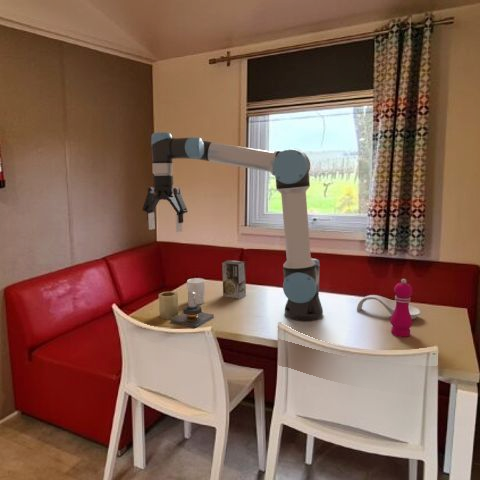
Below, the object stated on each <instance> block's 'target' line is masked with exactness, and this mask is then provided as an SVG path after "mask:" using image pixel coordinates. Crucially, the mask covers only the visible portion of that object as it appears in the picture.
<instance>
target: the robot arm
mask: <svg viewBox="0 0 480 480" xmlns="http://www.w3.org/2000/svg"><path fill="white" fill-rule="evenodd" d="M150 147H151V159H152V174H153V176H152V184H153V186H154V187H153V186H151V187H148V188H147V195H146V197H145V199H144V200H145V201H144V204H143V207H142V211H143V212H145V213H146V219H147V222H148V230H149V231H150V230H155V229H156V224H155V223H156V221H155V219H156V218H155V217H156V216H155V212H154V210H155V208H156V207H157V205H158V203H159V202H160V201H162V200H164V201H168V202H169V204H170V205H171V206H172V208H173V209H174V211H175V213H176V214H175V233H180V232H183V223H184V214H186V213H188V212H189V211H188V208H187V205H186V203H185V202H184V199H183V197H182V194H181V189H180V187H174V188H173V185H174V176H173V175H172V174H174V170H173V168H174V167H173V165H174V163H173V160H174V159H175V160H176V159H177V160H178V159H183V160H184V159H185V160H186V159H187V160H188V159H189V160H190V159H191V160H199V161H206V162H211V163H218V164H224V165H228V166H234V167H240V168H246V169H251V170H257V171H262V172H269V173H271V175H272V176H274V177H275V186H276V187H275V188H276V191H277V192H278V193H280V194H281V195H280V196H281V205H282V217H283V218H282V219H283V229H284V240H285V241H284V242H285V243H284V244H285V255H286V260H285V262H284V263H283V265H282V266H283V267H282V268H283V284H282V290H283V294H284V295H285V297H286V298H287V301H286V304H285V307H284V315H285V317H287V318H288V319H292V320H295V321H300V322H301V321H302V322H303V321H304V322H306V321H307V322H308V321H317V320H320V319H321V318H322V317H323V314H324V313H323V312H324V310H323V306H322V303H321V299H320V296H319V292H320V286H319V285H320V267H321V265H320V260H319V259H317V258H312V256H311V245H310V244H311V243H310V232H309V230H310V229H309V217H308V215H309V214H308V203H307V191H308V189H309V188H310V186H311V185H310V170H311V161H310V159H309V157H308V156H307V154H306V153H305V152H303V151H301V150H300V149H298V148H295V147H294V148H289V147H288V148H285V149H283V150H279V149H277V150H275V151H270V150H269V151H268V150H263V149H257V148H250V147H244V146H237V145H232V144H231V145H230V144H225V143H220V142H212V141H208V140H207V141H206V140H202V138H201V137H193V136H190V137H176V138H175V137H173V136H172V134H171V132H153V133H152V134H151V143H150Z"/></svg>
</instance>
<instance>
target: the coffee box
mask: <svg viewBox="0 0 480 480" xmlns="http://www.w3.org/2000/svg"><path fill="white" fill-rule="evenodd" d="M221 264H222V267H221V269H222V294H223V295H222V296H223V297H226V298H234V299H238V300H239V299H242V298H243V297H246V296H247V294H246V293H247V291H246V290H247V286H246V284H247V283H246V282H247V281H246V280H247V279H246V261H241V260H233V259H232V260H231V259H230V260H229V259H228V260H225V261H223V262H222V263H221Z"/></svg>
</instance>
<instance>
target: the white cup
mask: <svg viewBox="0 0 480 480" xmlns="http://www.w3.org/2000/svg"><path fill="white" fill-rule="evenodd" d="M186 283H187V284H186V286H187V293H188V292H192V291H193V292H196V305H203V304H205V293H206V292H205V291H206V279H204V278H201V277H198V278H197V277H196V278H195V277H194V278H189V279H187V281H186Z"/></svg>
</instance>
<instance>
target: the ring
mask: <svg viewBox="0 0 480 480" xmlns="http://www.w3.org/2000/svg"><path fill="white" fill-rule="evenodd" d="M201 312H202V307H201V305H200V304H198V305H196V309H193V310H190V309H188V304H187V305H186V306H183V307H182V313H184V314H187V315H196V314H199V313H201Z"/></svg>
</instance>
